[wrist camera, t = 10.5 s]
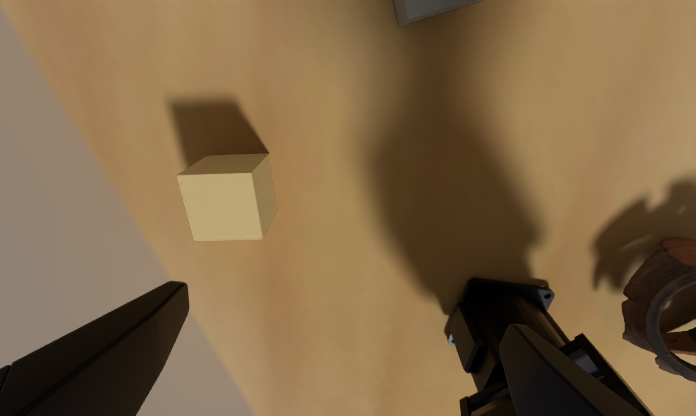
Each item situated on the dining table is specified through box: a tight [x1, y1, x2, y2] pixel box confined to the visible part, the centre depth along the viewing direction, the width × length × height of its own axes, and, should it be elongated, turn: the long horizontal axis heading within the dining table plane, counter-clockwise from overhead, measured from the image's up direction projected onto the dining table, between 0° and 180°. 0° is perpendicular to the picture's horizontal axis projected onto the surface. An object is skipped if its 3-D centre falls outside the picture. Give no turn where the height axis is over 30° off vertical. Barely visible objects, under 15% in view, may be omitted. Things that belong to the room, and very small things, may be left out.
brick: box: [177, 153, 278, 241], centre depth 20 cm, size 4×4×4 cm
